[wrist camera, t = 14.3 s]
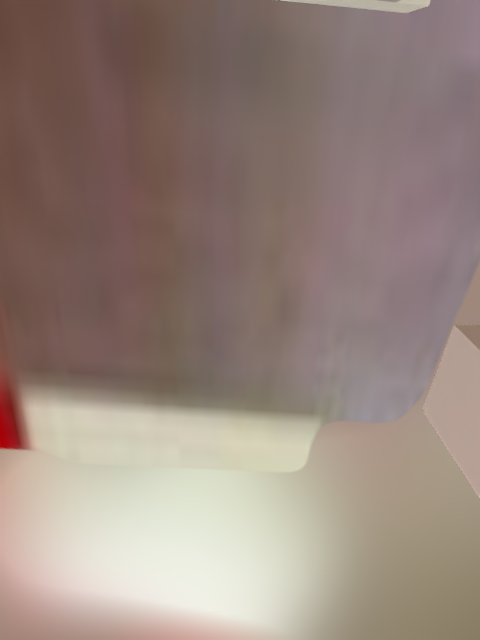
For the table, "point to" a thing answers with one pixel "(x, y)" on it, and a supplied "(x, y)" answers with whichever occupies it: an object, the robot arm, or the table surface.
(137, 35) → the table surface
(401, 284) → the table surface
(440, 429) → the robot arm
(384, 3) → the open box
